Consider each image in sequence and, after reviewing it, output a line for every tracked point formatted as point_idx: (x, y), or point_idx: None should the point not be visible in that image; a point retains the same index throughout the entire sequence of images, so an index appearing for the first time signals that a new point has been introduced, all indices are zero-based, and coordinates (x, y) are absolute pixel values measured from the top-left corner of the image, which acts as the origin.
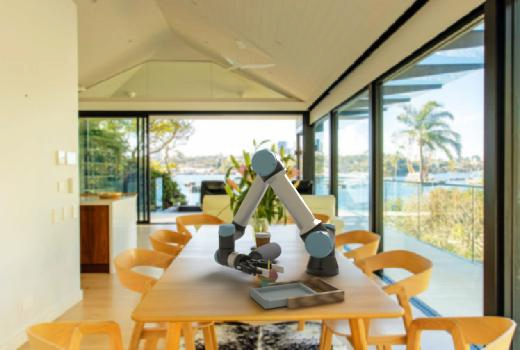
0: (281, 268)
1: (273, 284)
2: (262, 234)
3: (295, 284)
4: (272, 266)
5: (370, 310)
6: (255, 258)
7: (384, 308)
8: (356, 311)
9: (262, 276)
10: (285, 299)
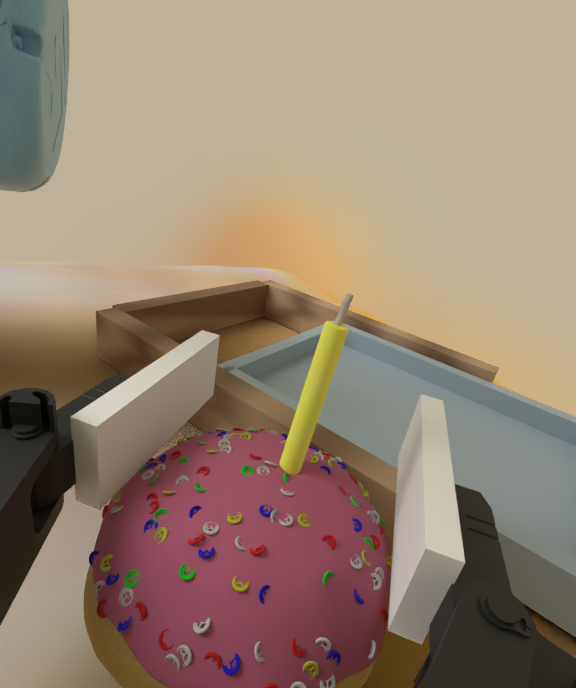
0: (211, 356)
1: (382, 464)
2: None
3: (255, 381)
4: (111, 443)
5: (307, 290)
6: None
7: (276, 277)
8: (335, 303)
9: (390, 549)
10: (495, 387)
